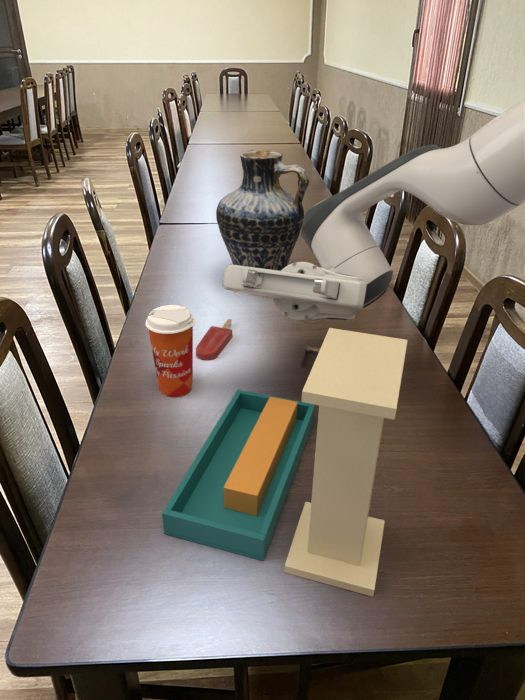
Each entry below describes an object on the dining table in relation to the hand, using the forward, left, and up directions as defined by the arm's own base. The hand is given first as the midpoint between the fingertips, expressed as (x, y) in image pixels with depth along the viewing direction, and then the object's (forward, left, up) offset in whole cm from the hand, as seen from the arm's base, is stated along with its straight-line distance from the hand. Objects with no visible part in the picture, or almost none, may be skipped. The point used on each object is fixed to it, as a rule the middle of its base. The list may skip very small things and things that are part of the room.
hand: (283, 280), depth 69 cm
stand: (-6, +21, -25) cm, 33 cm away
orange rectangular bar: (+2, +7, -24) cm, 25 cm away
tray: (+4, +8, -25) cm, 27 cm away
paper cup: (+17, -12, -25) cm, 32 cm away
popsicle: (+11, -28, -25) cm, 39 cm away
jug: (+2, -55, -25) cm, 60 cm away
